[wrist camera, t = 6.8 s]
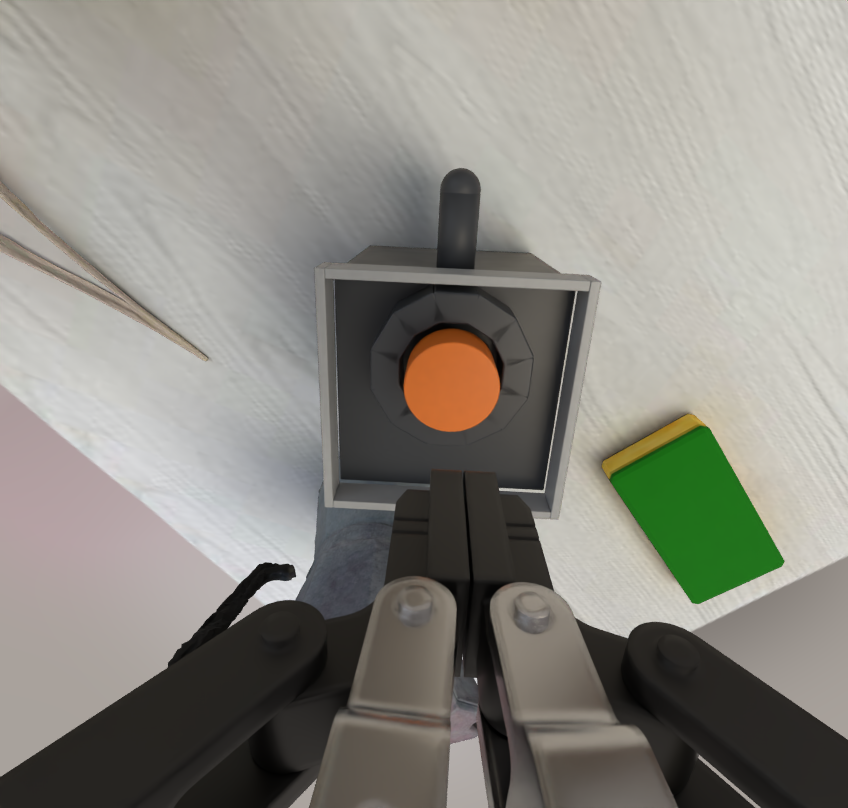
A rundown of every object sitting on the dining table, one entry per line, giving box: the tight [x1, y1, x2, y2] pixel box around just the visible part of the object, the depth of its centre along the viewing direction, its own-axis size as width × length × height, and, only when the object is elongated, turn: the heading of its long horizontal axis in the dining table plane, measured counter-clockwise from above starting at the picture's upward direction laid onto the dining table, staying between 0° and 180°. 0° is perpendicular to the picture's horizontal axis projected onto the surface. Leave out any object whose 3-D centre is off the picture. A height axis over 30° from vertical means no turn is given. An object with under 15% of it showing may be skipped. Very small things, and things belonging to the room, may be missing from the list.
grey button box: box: [335, 246, 576, 490], centre depth 26 cm, size 10×10×13 cm
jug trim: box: [314, 168, 601, 520], centre depth 24 cm, size 11×14×10 cm
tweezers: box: [0, 181, 208, 361], centre depth 31 cm, size 17×5×2 cm, turn 50°
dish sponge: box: [602, 414, 785, 604], centre depth 36 cm, size 7×14×2 cm, turn 36°
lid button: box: [404, 328, 500, 432], centre depth 19 cm, size 4×4×2 cm
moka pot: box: [168, 458, 479, 744], centre depth 29 cm, size 10×15×20 cm, turn 87°
